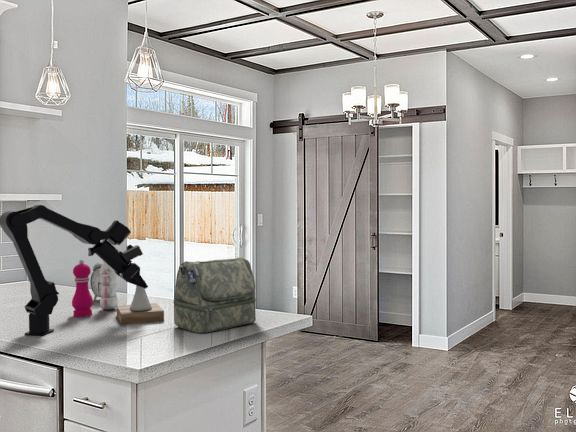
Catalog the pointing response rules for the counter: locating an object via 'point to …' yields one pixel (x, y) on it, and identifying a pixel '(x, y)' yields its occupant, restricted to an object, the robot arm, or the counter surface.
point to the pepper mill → (82, 291)
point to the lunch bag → (214, 295)
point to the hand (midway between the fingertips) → (144, 285)
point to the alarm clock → (96, 280)
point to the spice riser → (140, 314)
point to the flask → (140, 300)
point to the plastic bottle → (108, 288)
